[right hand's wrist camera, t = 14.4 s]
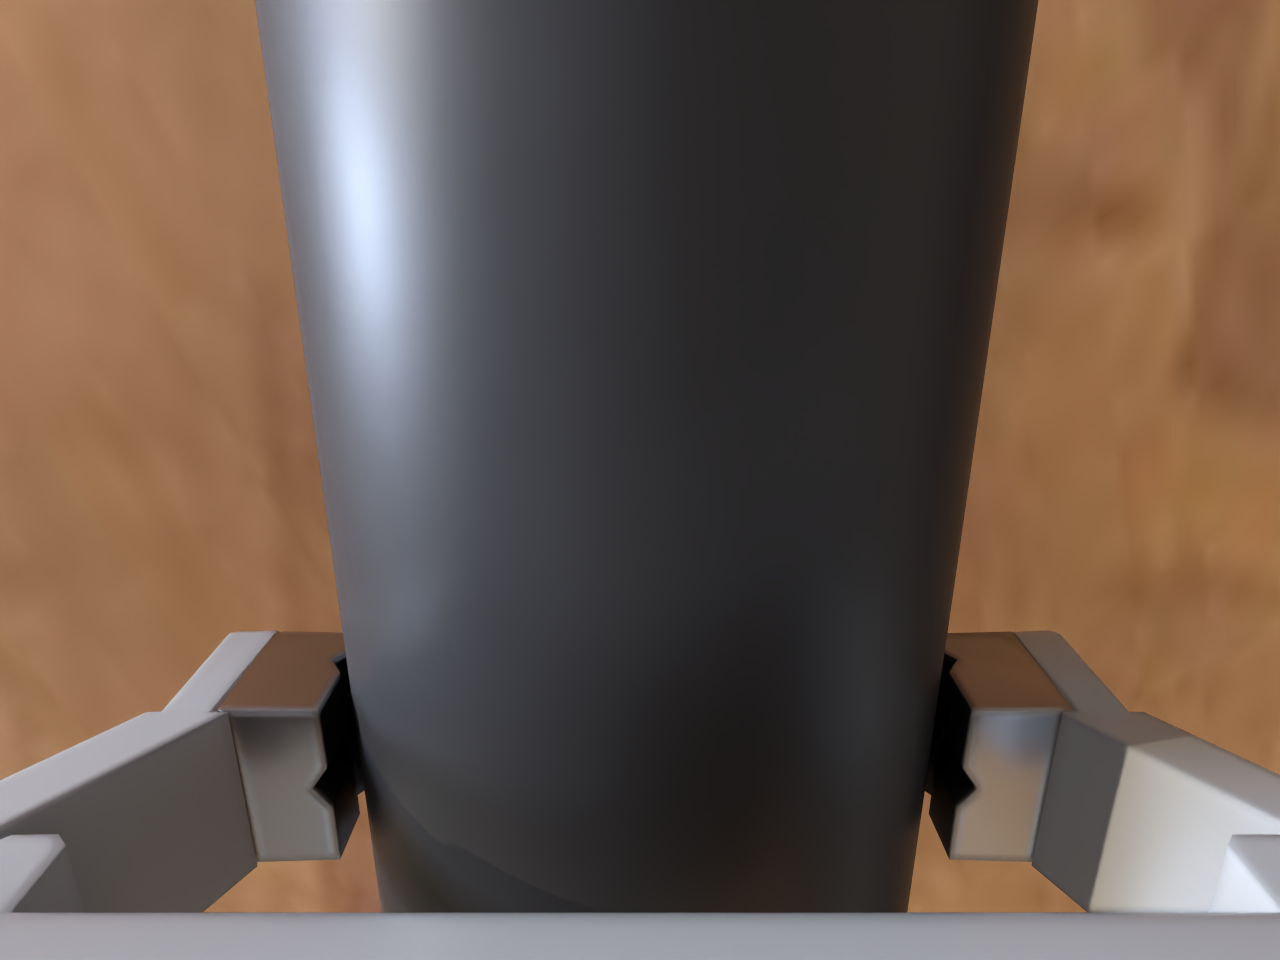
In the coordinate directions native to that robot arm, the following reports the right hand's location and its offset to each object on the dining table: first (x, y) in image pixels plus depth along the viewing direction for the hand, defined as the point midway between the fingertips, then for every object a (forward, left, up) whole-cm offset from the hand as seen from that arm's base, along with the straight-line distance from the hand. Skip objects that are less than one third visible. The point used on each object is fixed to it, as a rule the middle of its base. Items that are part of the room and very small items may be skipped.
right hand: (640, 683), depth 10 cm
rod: (-5, +10, -3) cm, 11 cm away
